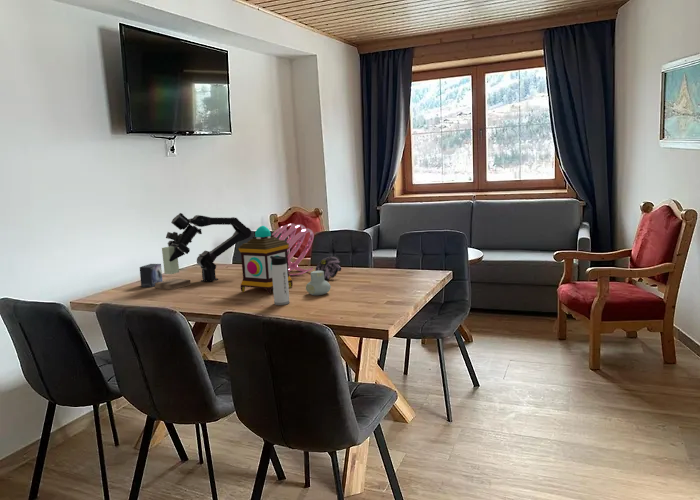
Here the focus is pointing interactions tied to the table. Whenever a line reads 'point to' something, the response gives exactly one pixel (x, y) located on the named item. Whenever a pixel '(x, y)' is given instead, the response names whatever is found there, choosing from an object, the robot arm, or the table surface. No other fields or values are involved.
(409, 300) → the table surface
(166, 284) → the block
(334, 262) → the decorative flower
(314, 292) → the air freshener
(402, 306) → the table surface
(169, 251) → the sage block
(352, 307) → the table surface
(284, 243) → the decorative lantern
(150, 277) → the small box
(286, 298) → the travel mug
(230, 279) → the table surface
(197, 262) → the robot arm
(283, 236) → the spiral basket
